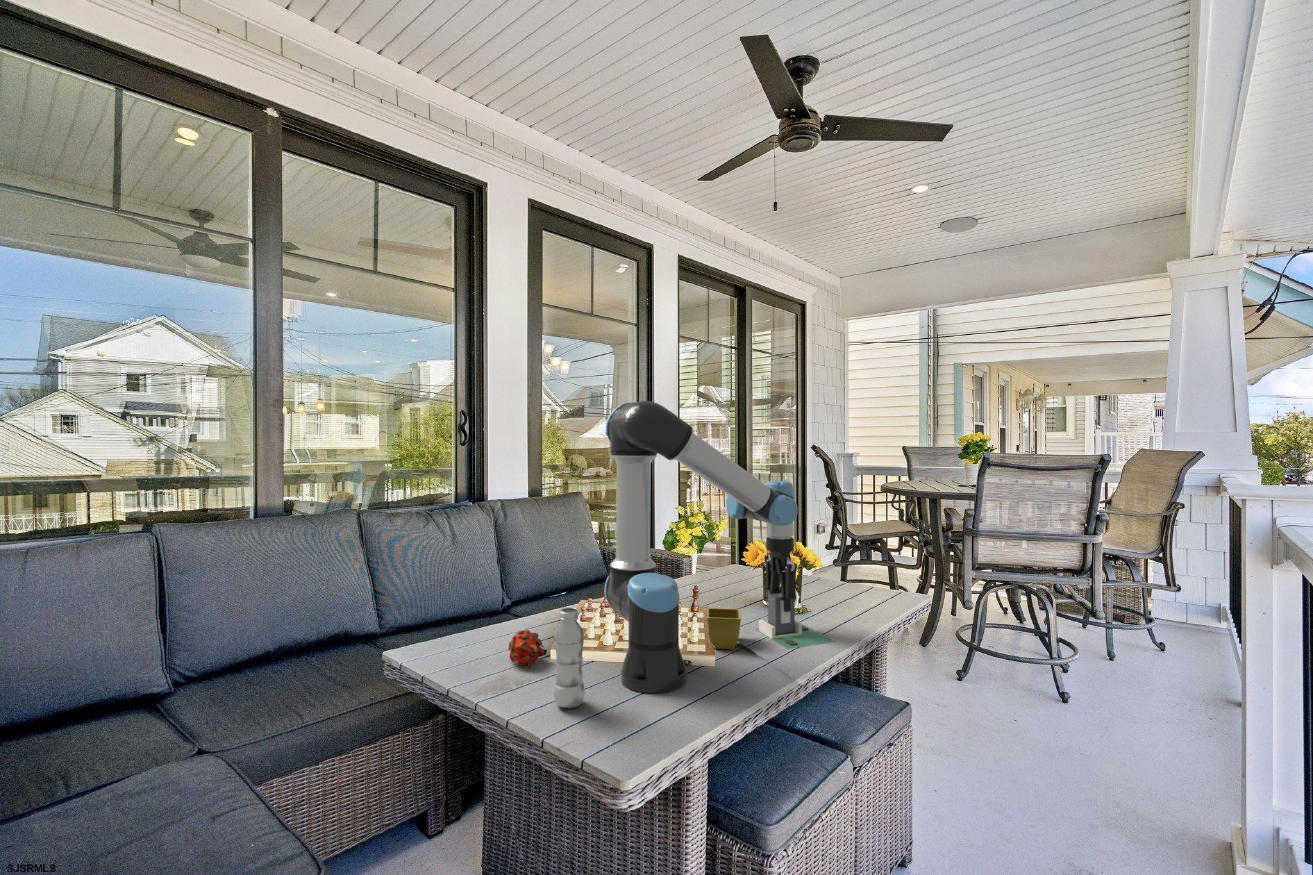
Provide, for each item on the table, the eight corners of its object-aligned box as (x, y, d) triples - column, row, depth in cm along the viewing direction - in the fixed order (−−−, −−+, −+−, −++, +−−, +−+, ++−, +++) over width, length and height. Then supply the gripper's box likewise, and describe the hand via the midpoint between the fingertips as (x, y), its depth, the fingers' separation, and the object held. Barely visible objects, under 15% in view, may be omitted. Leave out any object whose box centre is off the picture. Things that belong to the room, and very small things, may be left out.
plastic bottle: (558, 714, 123) (557, 616, 123) (550, 701, 130) (550, 607, 129) (589, 708, 126) (588, 612, 126) (579, 696, 132) (579, 604, 132)
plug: (775, 634, 167) (775, 598, 167) (768, 629, 170) (767, 594, 170) (796, 631, 169) (796, 595, 169) (789, 627, 173) (788, 591, 173)
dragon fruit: (519, 660, 158) (537, 682, 148) (494, 647, 153) (510, 669, 143) (539, 631, 159) (557, 651, 149) (514, 617, 155) (532, 637, 145)
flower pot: (739, 641, 166) (739, 608, 166) (741, 652, 158) (741, 618, 158) (707, 640, 167) (707, 607, 167) (707, 651, 158) (706, 617, 158)
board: (787, 653, 157) (787, 636, 157) (754, 632, 173) (754, 618, 173) (836, 645, 162) (836, 630, 162) (799, 626, 178) (799, 612, 178)
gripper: (809, 540, 163) (810, 627, 163) (775, 531, 179) (776, 610, 179) (784, 542, 160) (785, 631, 160) (752, 532, 176) (753, 613, 176)
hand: (780, 620), depth 170 cm, fingers closed on plug, 4 cm apart
